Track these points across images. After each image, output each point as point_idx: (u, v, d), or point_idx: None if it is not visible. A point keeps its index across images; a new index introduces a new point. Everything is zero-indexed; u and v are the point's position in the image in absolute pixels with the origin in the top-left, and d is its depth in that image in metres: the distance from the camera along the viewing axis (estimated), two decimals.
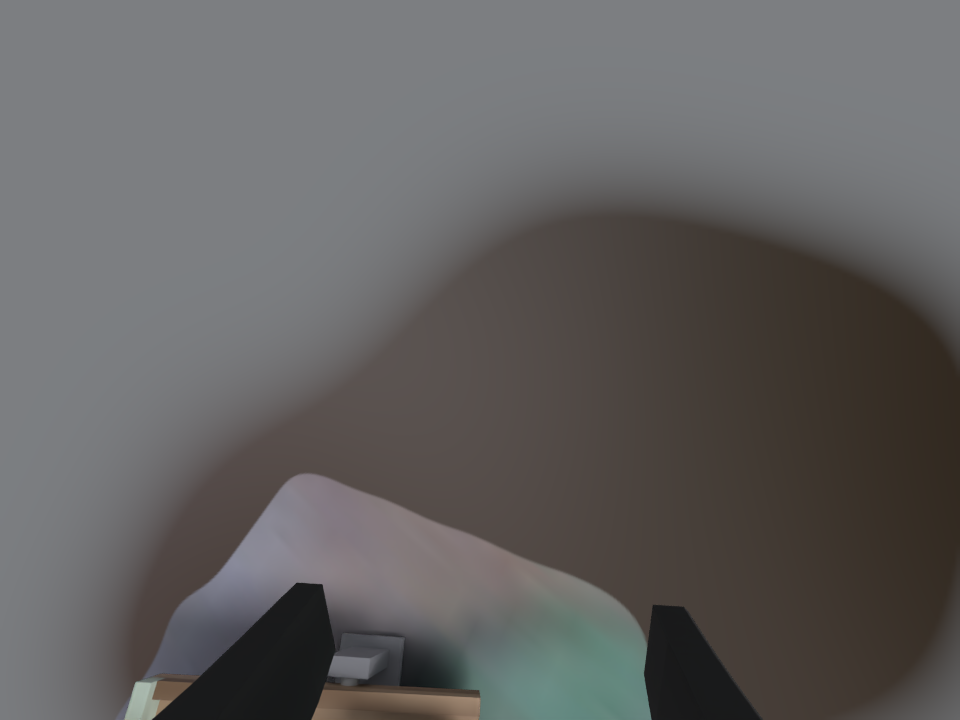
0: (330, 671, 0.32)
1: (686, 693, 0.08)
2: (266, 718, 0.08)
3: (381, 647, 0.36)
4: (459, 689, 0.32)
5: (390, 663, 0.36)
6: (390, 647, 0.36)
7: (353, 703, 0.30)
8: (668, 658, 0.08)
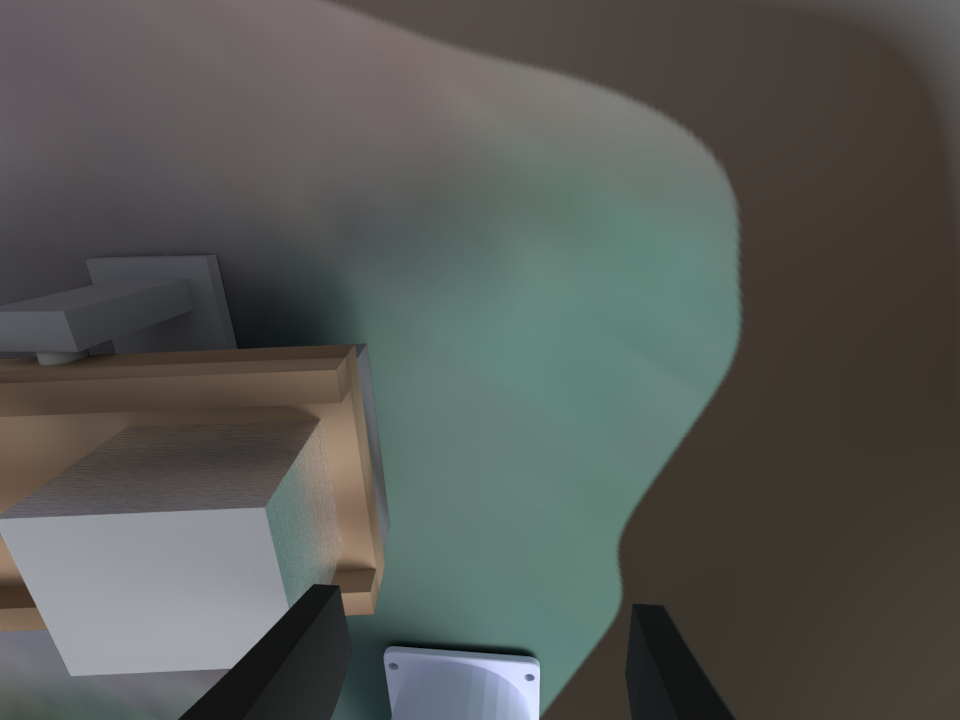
0: None
1: (661, 691, 0.08)
2: None
3: (169, 277, 0.17)
4: (311, 346, 0.15)
5: (198, 302, 0.18)
6: (187, 276, 0.17)
7: (43, 403, 0.13)
8: (645, 656, 0.08)
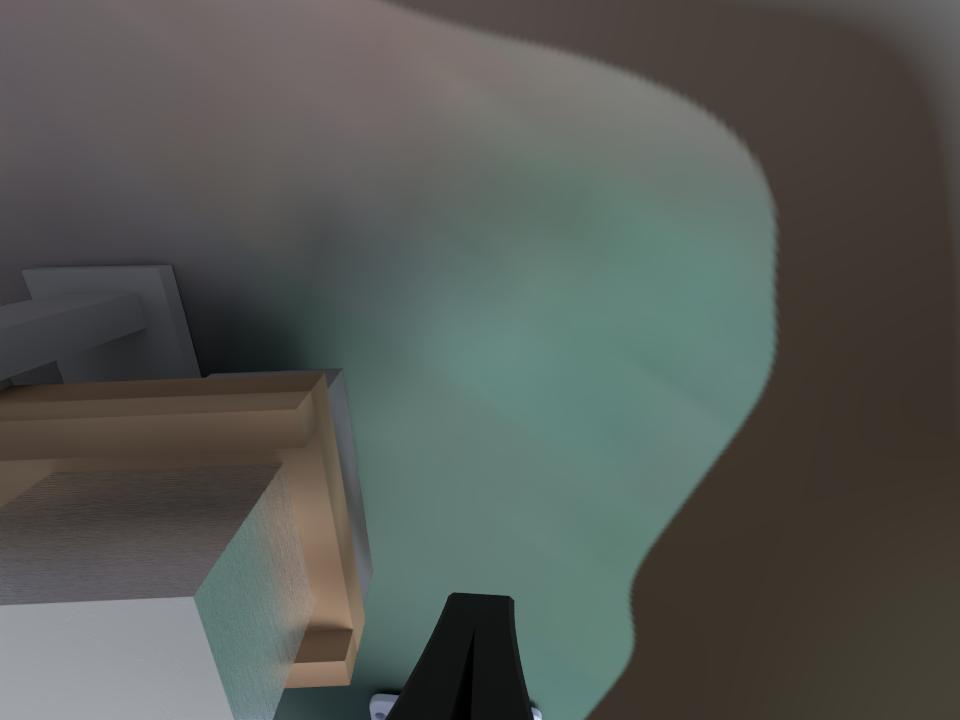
0: None
1: None
2: None
3: (118, 290, 0.15)
4: (272, 375, 0.12)
5: (151, 319, 0.15)
6: (138, 289, 0.15)
7: None
8: None
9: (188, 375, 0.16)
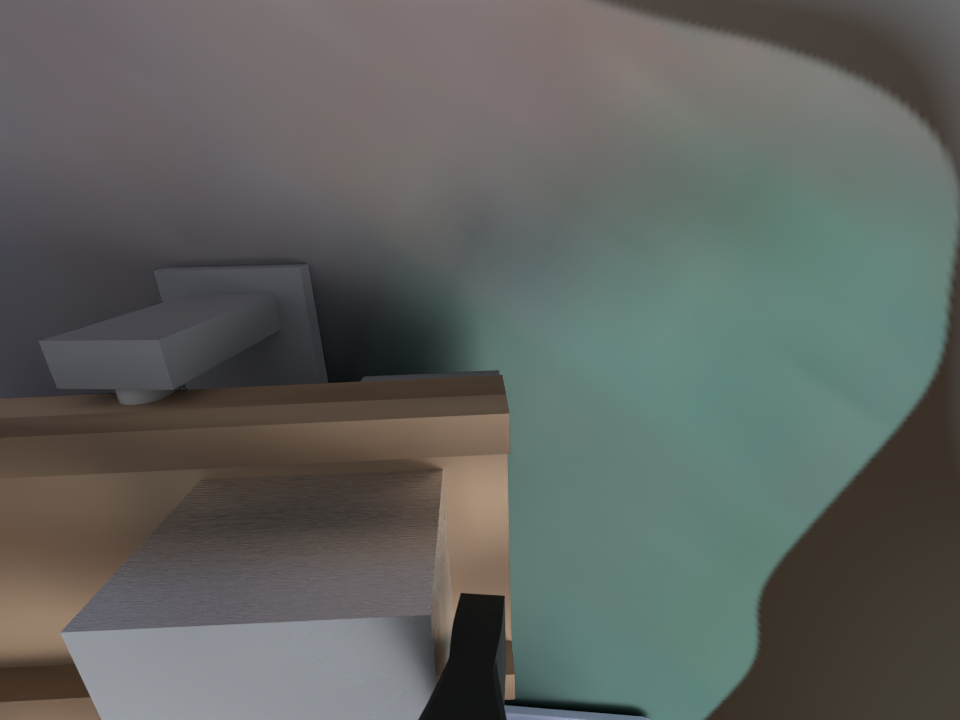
0: (65, 378, 0.11)
1: None
2: None
3: (254, 291, 0.15)
4: (449, 378, 0.12)
5: (286, 320, 0.15)
6: (276, 289, 0.15)
7: (135, 458, 0.10)
8: None
9: (319, 378, 0.16)
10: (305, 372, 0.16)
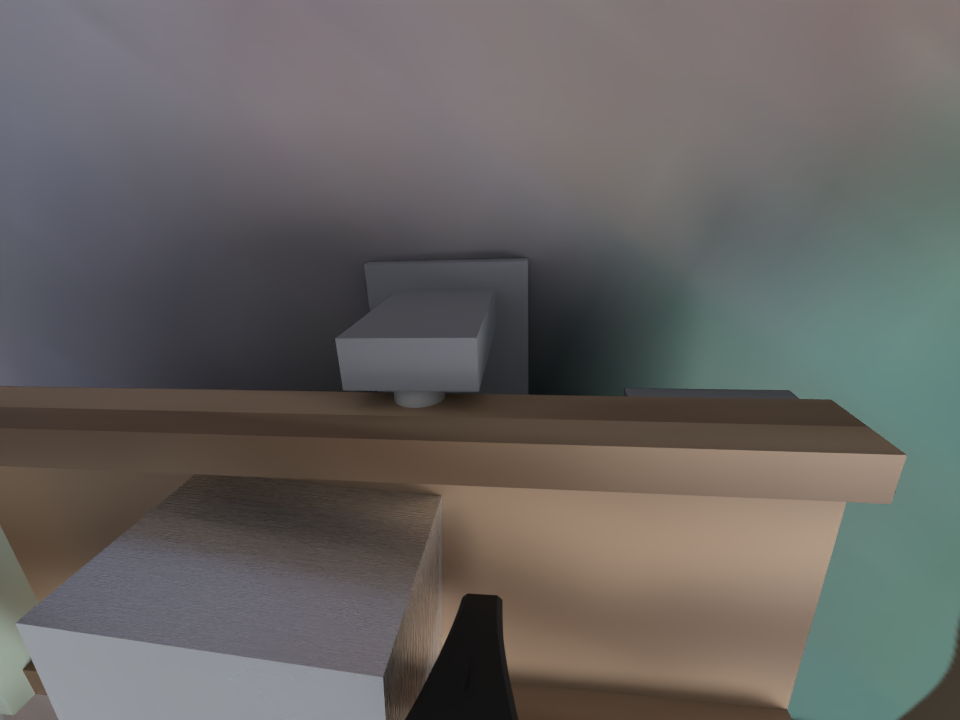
0: (356, 379, 0.10)
1: None
2: None
3: (473, 286, 0.14)
4: (764, 399, 0.10)
5: (503, 317, 0.14)
6: (497, 285, 0.14)
7: (438, 469, 0.09)
8: None
9: None
10: (514, 372, 0.15)
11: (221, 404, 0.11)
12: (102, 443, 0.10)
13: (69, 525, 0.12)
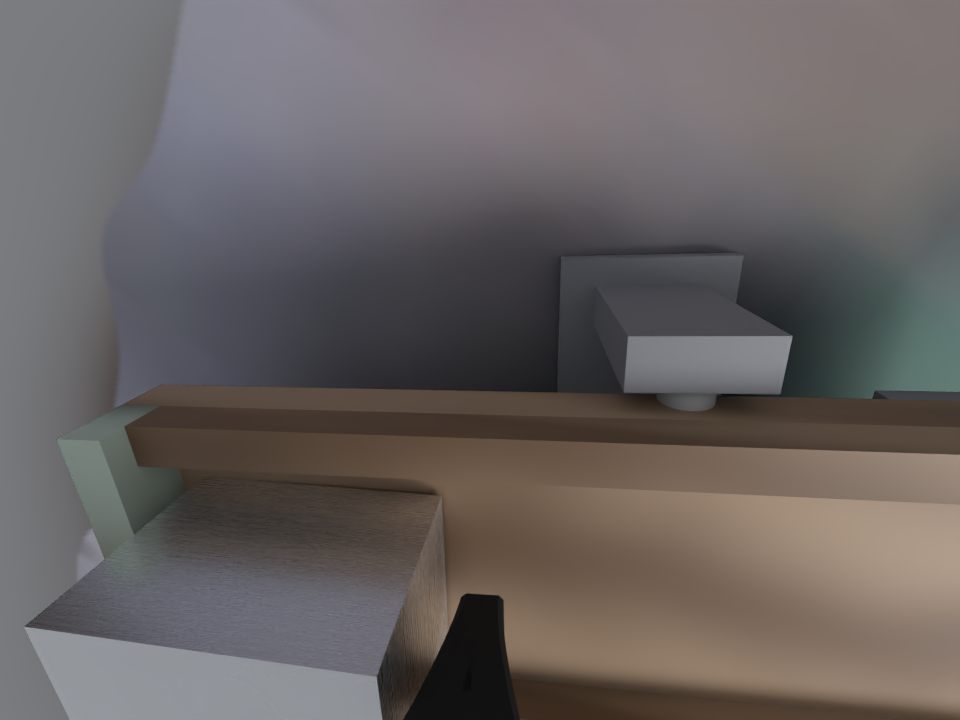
0: (642, 380, 0.09)
1: None
2: None
3: (680, 282, 0.13)
4: None
5: None
6: (705, 280, 0.13)
7: (759, 479, 0.08)
8: None
9: None
10: None
11: (471, 406, 0.10)
12: (369, 448, 0.09)
13: None
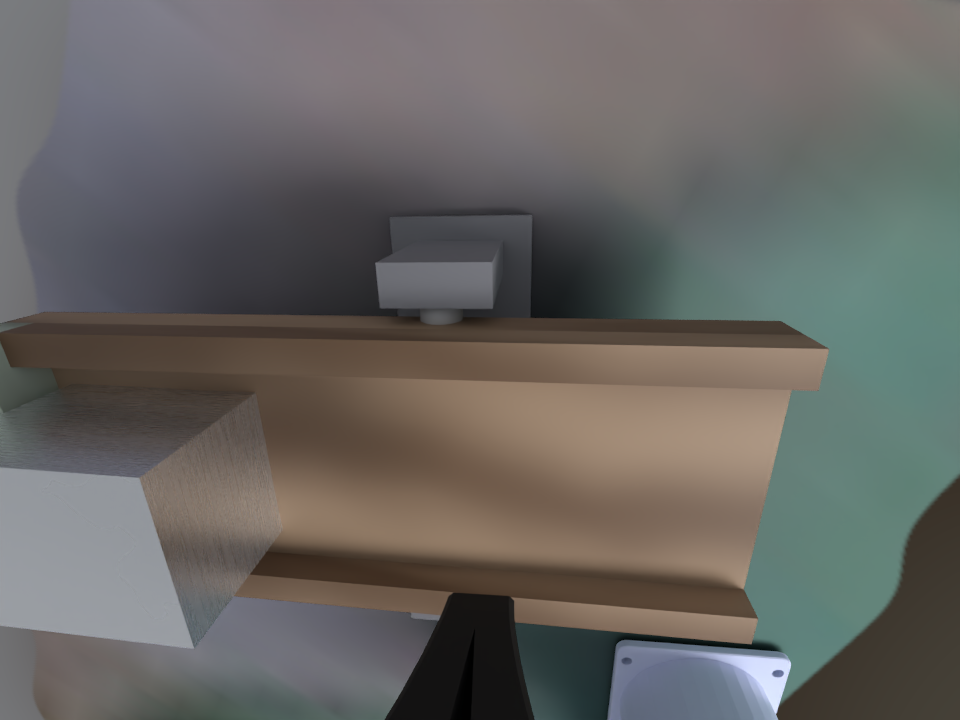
0: (391, 298, 0.12)
1: None
2: None
3: (484, 238, 0.16)
4: (726, 320, 0.12)
5: (509, 266, 0.16)
6: (505, 236, 0.16)
7: (459, 367, 0.11)
8: None
9: None
10: (518, 316, 0.17)
11: (275, 322, 0.13)
12: (180, 347, 0.12)
13: None
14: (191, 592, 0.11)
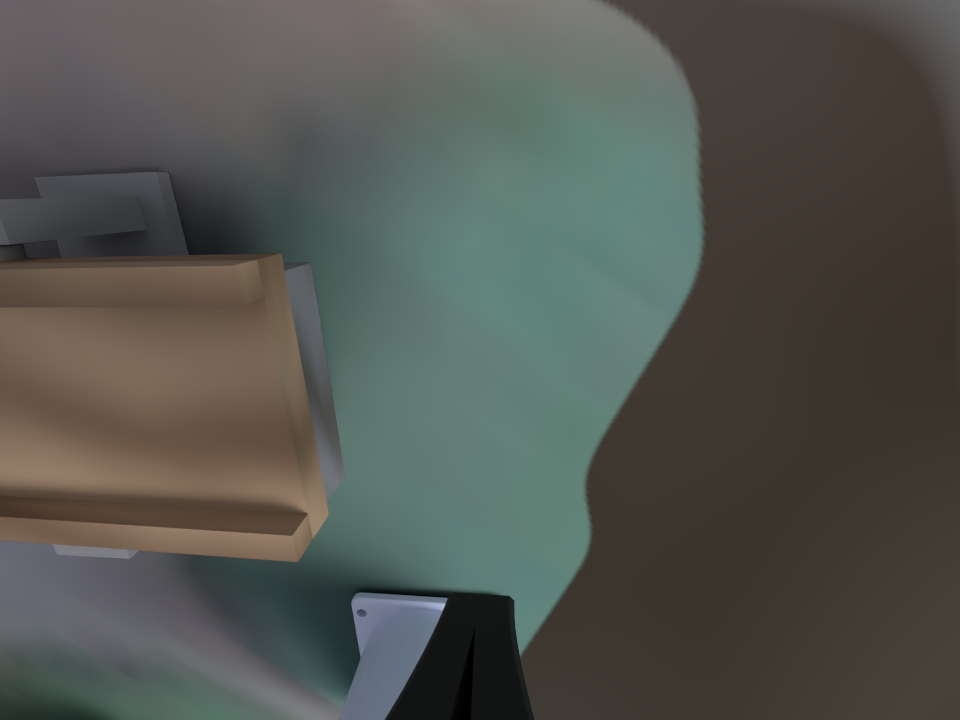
0: None
1: None
2: None
3: (120, 194, 0.17)
4: (235, 254, 0.13)
5: (150, 221, 0.17)
6: (138, 193, 0.17)
7: None
8: None
9: None
10: None
11: None
12: None
13: None
14: None
